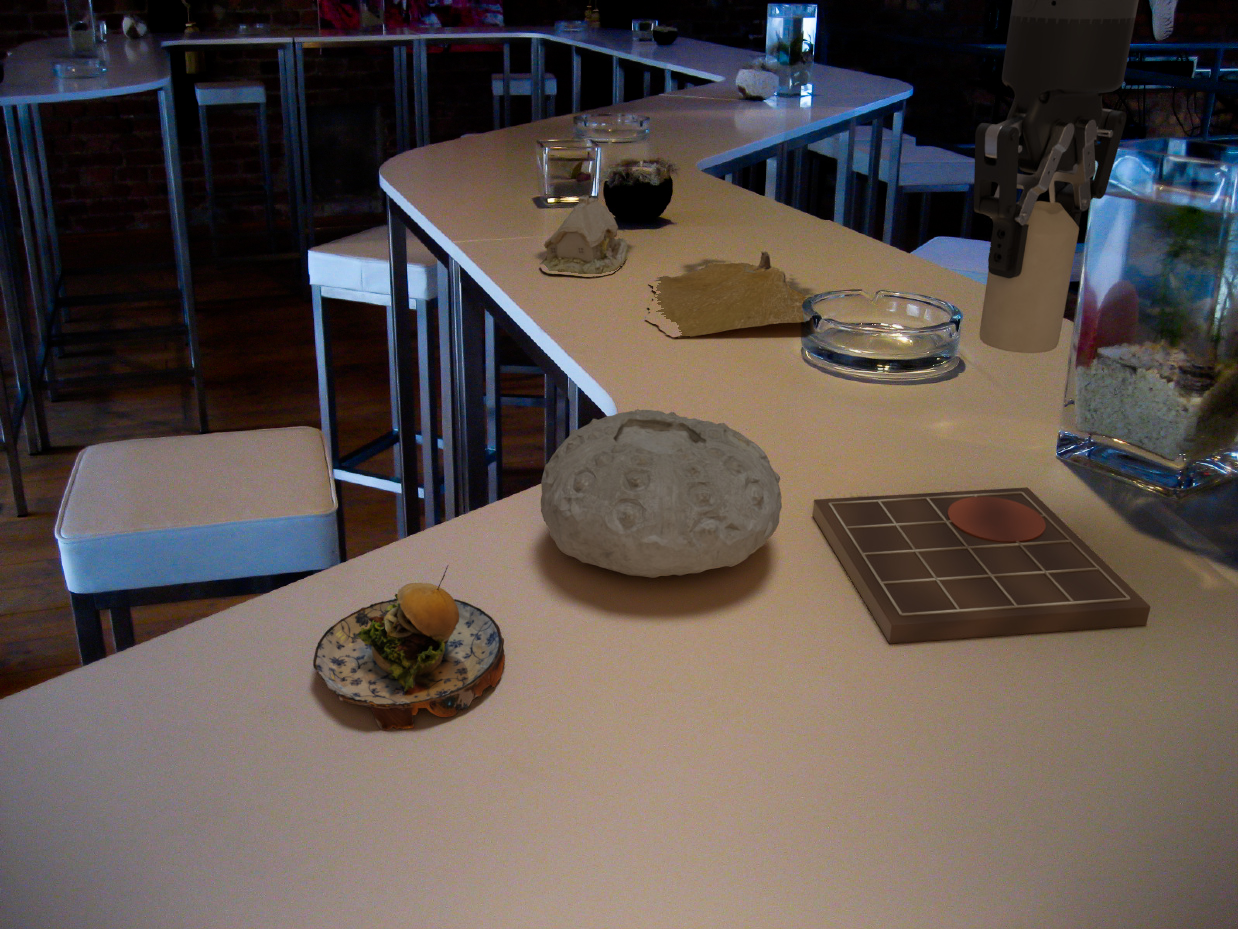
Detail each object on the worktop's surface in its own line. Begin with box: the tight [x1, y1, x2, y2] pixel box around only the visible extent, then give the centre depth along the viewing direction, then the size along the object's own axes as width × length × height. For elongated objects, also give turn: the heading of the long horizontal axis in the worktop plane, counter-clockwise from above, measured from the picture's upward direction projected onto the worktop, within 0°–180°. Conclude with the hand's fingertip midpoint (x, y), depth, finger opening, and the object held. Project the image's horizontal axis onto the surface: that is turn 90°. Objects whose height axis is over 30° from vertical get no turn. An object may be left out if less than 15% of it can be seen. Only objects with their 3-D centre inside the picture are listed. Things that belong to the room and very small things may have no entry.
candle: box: [979, 200, 1080, 354], centre depth 77 cm, size 6×6×10 cm
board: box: [812, 486, 1151, 645], centre depth 80 cm, size 18×18×2 cm
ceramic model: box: [540, 194, 629, 274], centre depth 154 cm, size 14×11×10 cm
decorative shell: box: [540, 408, 783, 579], centre depth 80 cm, size 18×18×10 cm
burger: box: [312, 565, 506, 731], centre depth 67 cm, size 12×12×8 cm
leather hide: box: [655, 251, 808, 337], centre depth 138 cm, size 29×26×5 cm
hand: (1030, 267), depth 77 cm, fingers closed on candle, 5 cm apart
